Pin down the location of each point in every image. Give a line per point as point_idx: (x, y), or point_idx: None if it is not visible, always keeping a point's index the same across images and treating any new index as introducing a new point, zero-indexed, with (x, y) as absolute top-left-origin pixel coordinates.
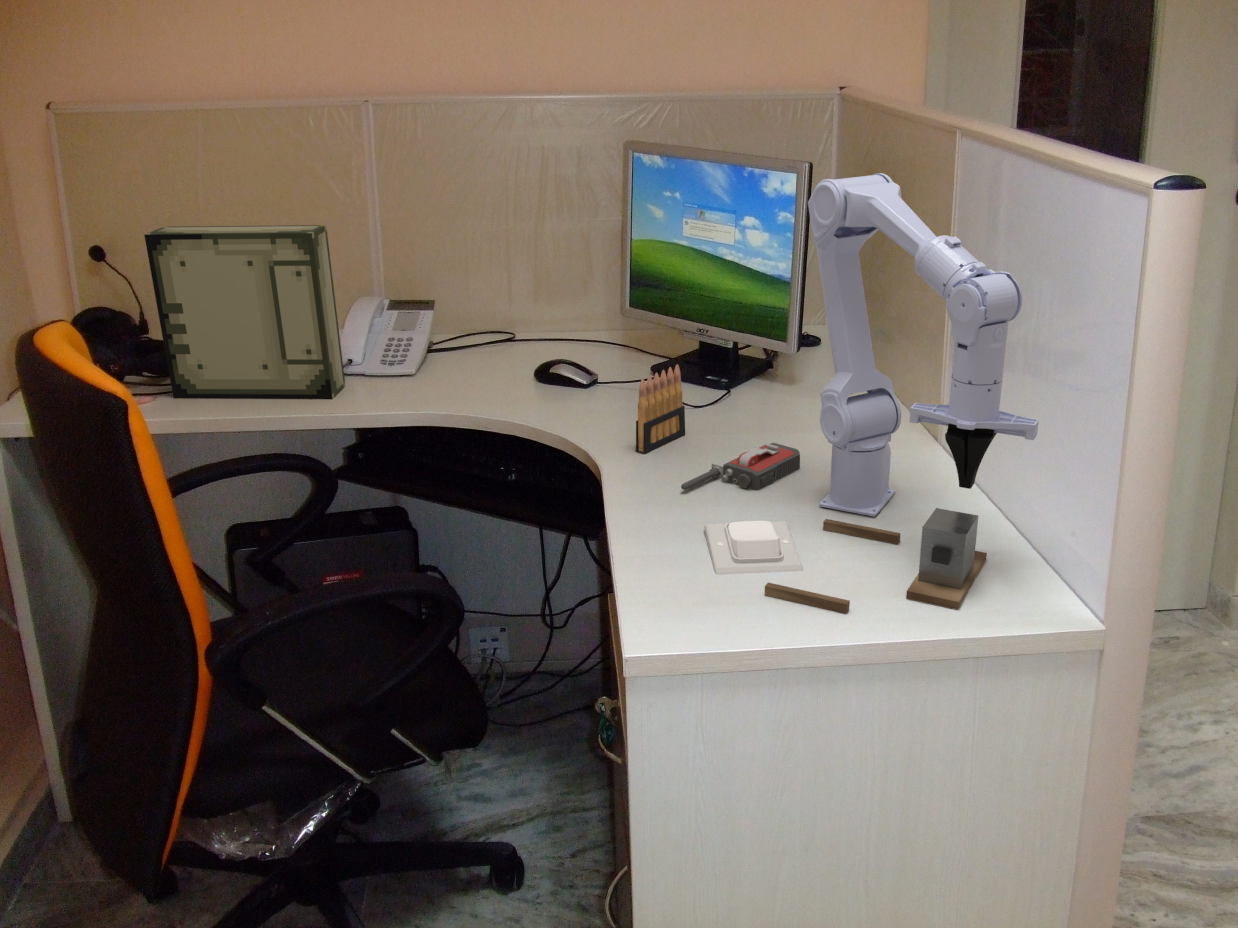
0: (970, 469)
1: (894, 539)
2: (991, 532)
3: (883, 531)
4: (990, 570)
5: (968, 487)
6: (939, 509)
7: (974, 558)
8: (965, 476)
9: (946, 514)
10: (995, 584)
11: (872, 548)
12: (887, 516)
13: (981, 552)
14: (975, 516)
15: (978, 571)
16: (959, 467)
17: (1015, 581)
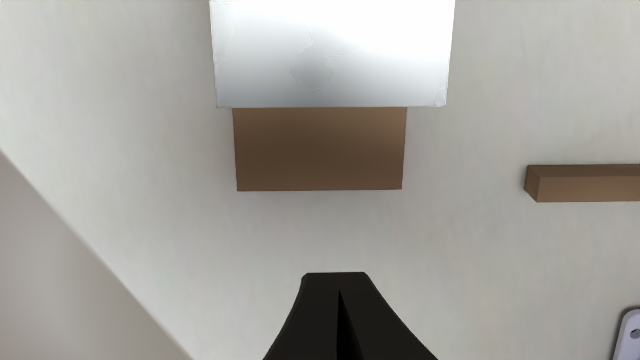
0: (309, 333)
1: (546, 171)
2: None
3: (593, 189)
4: (206, 116)
5: (314, 274)
6: (425, 93)
7: (262, 131)
8: (342, 316)
9: (376, 46)
10: (159, 20)
11: (604, 102)
12: (586, 332)
13: (254, 186)
14: (226, 87)
15: None
16: (391, 333)
17: (109, 73)
